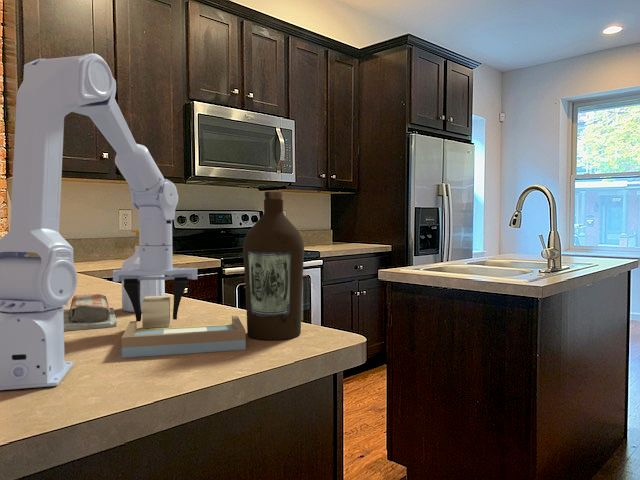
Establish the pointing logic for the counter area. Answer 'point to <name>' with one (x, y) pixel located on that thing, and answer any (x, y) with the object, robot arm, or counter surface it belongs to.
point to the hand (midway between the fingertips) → (157, 319)
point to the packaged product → (89, 313)
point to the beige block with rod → (156, 312)
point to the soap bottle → (145, 285)
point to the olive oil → (273, 274)
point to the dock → (183, 339)
